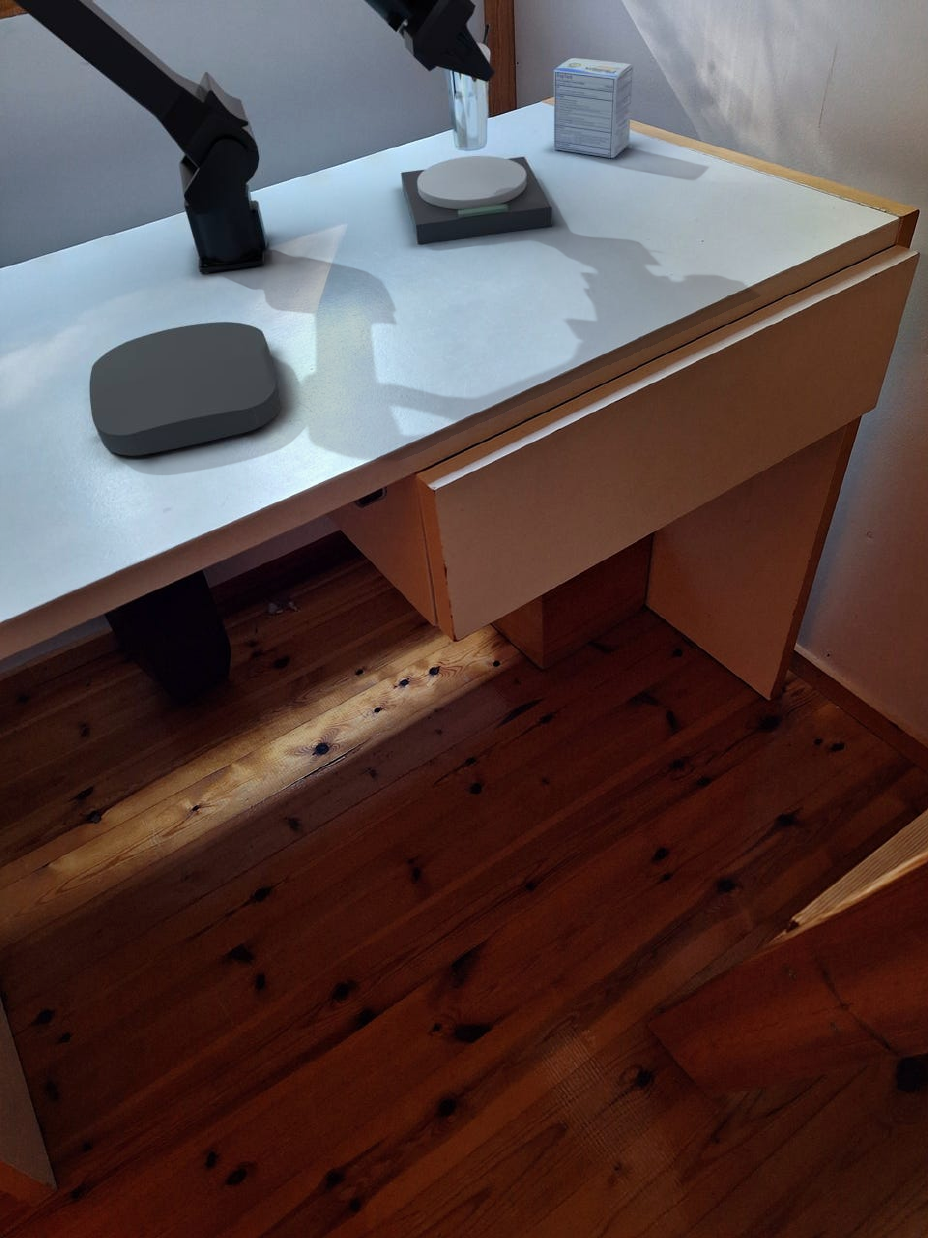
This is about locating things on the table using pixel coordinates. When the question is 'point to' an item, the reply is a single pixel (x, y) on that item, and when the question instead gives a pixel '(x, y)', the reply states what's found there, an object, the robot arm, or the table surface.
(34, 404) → the table surface
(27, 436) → the table surface
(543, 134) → the table surface
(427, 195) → the scale
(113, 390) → the media streaming box
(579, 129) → the medicine box
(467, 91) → the milkshake
